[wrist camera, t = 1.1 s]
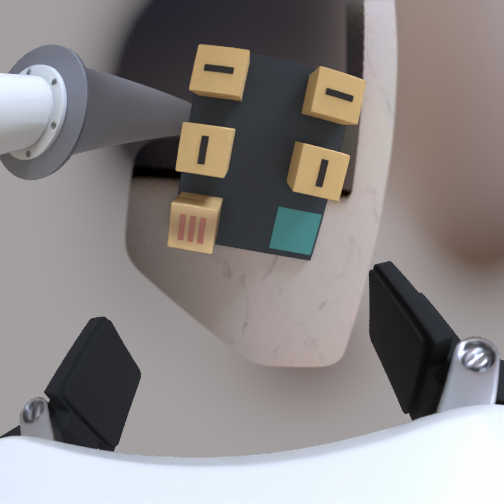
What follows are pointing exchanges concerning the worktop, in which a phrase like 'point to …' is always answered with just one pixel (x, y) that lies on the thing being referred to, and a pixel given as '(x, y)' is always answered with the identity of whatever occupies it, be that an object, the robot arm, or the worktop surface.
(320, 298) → the worktop surface
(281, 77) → the grey board with cubes
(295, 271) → the worktop surface
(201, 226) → the striped wooden cube
